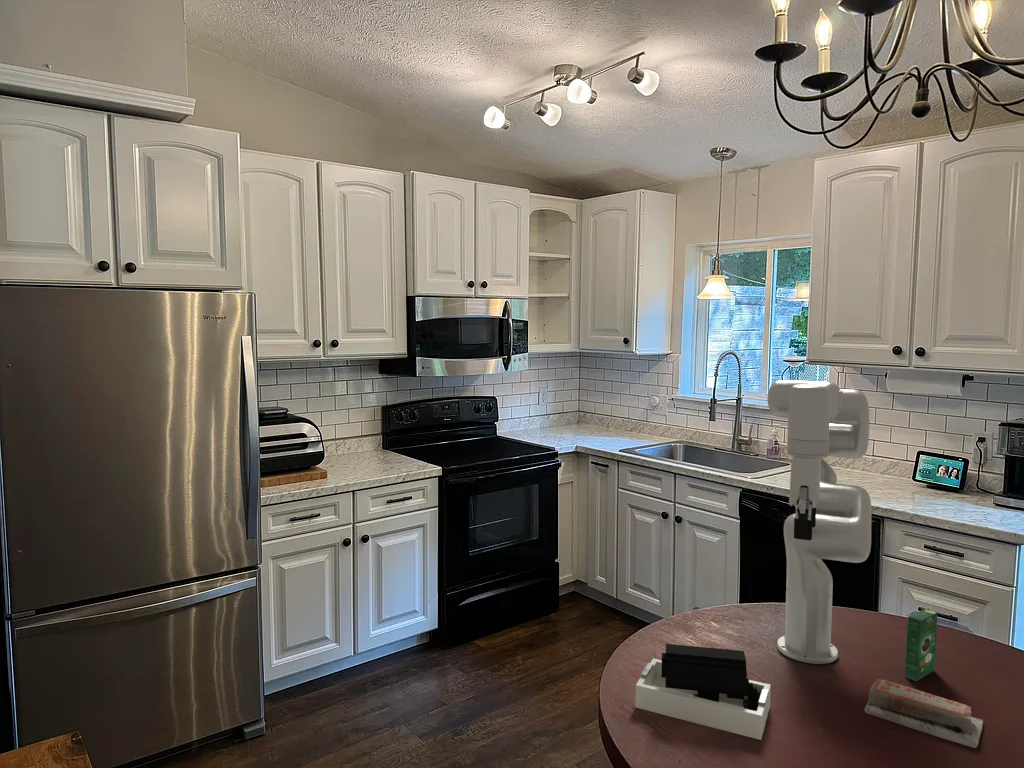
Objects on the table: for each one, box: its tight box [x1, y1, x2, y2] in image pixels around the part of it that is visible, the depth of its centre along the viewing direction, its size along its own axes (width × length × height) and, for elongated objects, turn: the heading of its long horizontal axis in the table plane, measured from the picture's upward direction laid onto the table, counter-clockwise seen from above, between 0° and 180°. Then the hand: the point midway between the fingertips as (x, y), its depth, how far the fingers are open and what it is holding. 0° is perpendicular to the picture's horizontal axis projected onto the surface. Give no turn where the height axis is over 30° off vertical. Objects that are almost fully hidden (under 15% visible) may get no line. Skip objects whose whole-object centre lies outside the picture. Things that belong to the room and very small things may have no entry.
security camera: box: [661, 643, 761, 711], centre depth 132 cm, size 7×18×10 cm, turn 78°
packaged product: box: [864, 678, 984, 749], centre depth 128 cm, size 18×5×10 cm
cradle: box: [634, 658, 772, 741], centre depth 132 cm, size 12×23×5 cm, turn 63°
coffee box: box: [904, 608, 939, 682], centre depth 144 cm, size 8×3×13 cm, turn 125°
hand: (804, 532), depth 136 cm, fingers open, 9 cm apart
